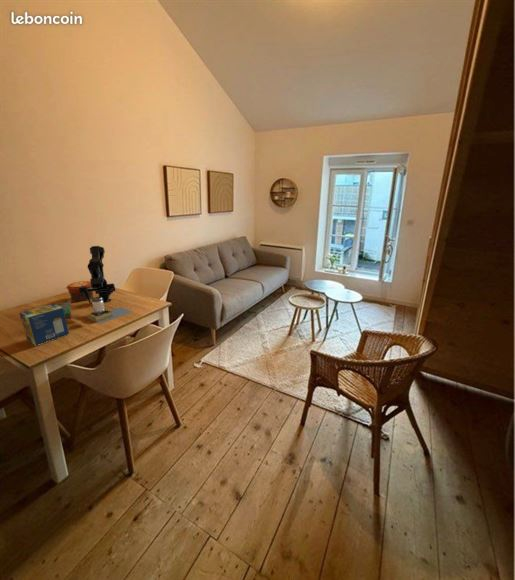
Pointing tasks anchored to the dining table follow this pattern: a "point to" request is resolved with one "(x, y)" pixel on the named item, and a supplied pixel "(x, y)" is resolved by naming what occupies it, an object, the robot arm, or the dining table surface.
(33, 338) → the protein box
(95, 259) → the robot arm
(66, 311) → the food container
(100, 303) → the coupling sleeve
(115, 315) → the board
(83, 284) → the food container
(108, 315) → the tan square tray
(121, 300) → the dining table surface
